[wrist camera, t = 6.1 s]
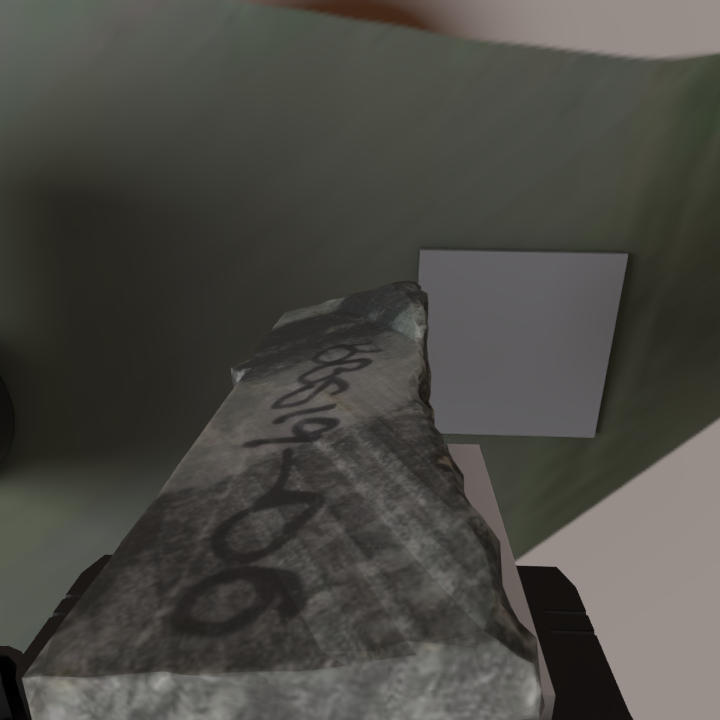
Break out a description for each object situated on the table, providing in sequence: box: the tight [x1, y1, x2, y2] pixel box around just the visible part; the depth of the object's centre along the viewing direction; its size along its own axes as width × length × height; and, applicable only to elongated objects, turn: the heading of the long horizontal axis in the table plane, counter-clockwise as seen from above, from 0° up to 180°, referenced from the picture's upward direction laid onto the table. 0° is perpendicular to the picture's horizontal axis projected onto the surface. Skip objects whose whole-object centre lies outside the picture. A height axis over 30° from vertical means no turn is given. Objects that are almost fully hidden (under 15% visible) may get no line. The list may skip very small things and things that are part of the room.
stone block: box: [22, 281, 545, 720], centre depth 13 cm, size 9×14×5 cm
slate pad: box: [418, 248, 628, 438], centre depth 41 cm, size 14×14×1 cm
